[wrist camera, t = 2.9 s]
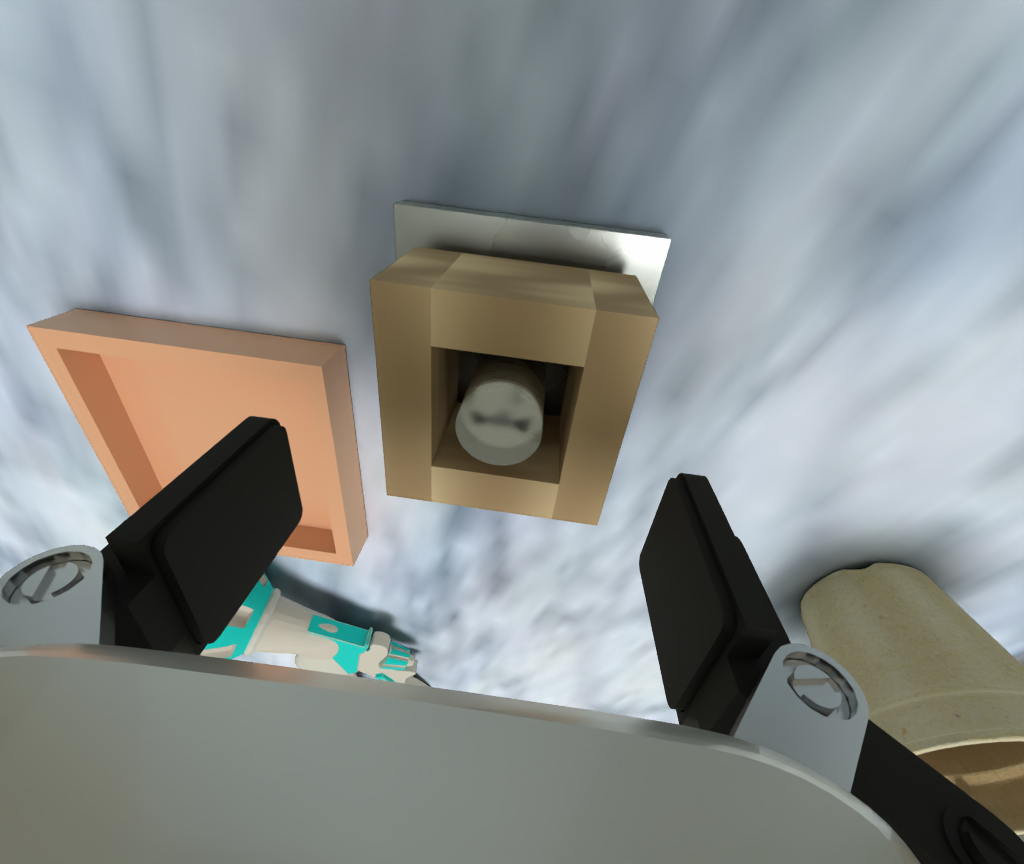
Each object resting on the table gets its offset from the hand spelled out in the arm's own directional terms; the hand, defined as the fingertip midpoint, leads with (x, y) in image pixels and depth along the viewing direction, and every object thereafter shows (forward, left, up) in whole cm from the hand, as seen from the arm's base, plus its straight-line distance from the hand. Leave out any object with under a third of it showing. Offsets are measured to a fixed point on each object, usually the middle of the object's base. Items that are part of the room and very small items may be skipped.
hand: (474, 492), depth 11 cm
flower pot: (-20, +11, -9) cm, 25 cm away
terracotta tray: (+13, +6, -8) cm, 16 cm away
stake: (0, -1, -8) cm, 8 cm away
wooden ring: (0, -1, -6) cm, 6 cm away
